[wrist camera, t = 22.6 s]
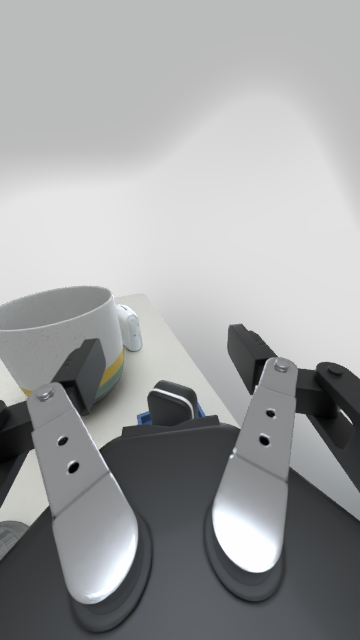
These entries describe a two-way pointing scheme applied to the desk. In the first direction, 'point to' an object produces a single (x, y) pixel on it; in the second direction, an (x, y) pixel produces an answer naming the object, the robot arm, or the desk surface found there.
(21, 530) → the flying saucer
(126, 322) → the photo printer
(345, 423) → the robot arm
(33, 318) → the planter
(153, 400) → the battery charger
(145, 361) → the desk surface
